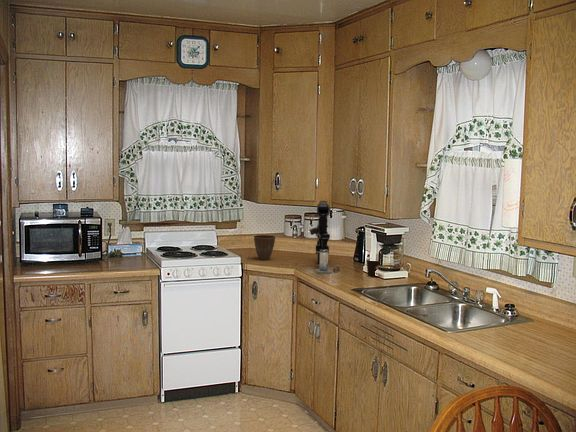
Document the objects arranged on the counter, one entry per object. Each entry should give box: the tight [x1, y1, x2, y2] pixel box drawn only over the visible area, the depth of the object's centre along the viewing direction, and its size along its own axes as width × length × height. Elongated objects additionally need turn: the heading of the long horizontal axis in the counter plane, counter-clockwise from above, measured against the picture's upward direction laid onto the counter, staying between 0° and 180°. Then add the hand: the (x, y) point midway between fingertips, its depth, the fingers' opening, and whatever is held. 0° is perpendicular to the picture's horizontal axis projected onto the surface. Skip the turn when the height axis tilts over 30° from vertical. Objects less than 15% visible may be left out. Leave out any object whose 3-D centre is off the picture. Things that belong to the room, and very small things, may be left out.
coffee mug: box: [366, 258, 381, 278], centre depth 363 cm, size 12×9×10 cm
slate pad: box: [314, 268, 333, 275], centre depth 372 cm, size 9×9×1 cm
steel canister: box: [318, 249, 329, 271], centre depth 371 cm, size 5×5×13 cm
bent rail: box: [332, 264, 341, 274], centre depth 376 cm, size 12×4×3 cm, turn 7°
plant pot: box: [253, 234, 276, 261], centre depth 412 cm, size 15×15×16 cm
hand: (322, 247), depth 388 cm, fingers open, 9 cm apart
